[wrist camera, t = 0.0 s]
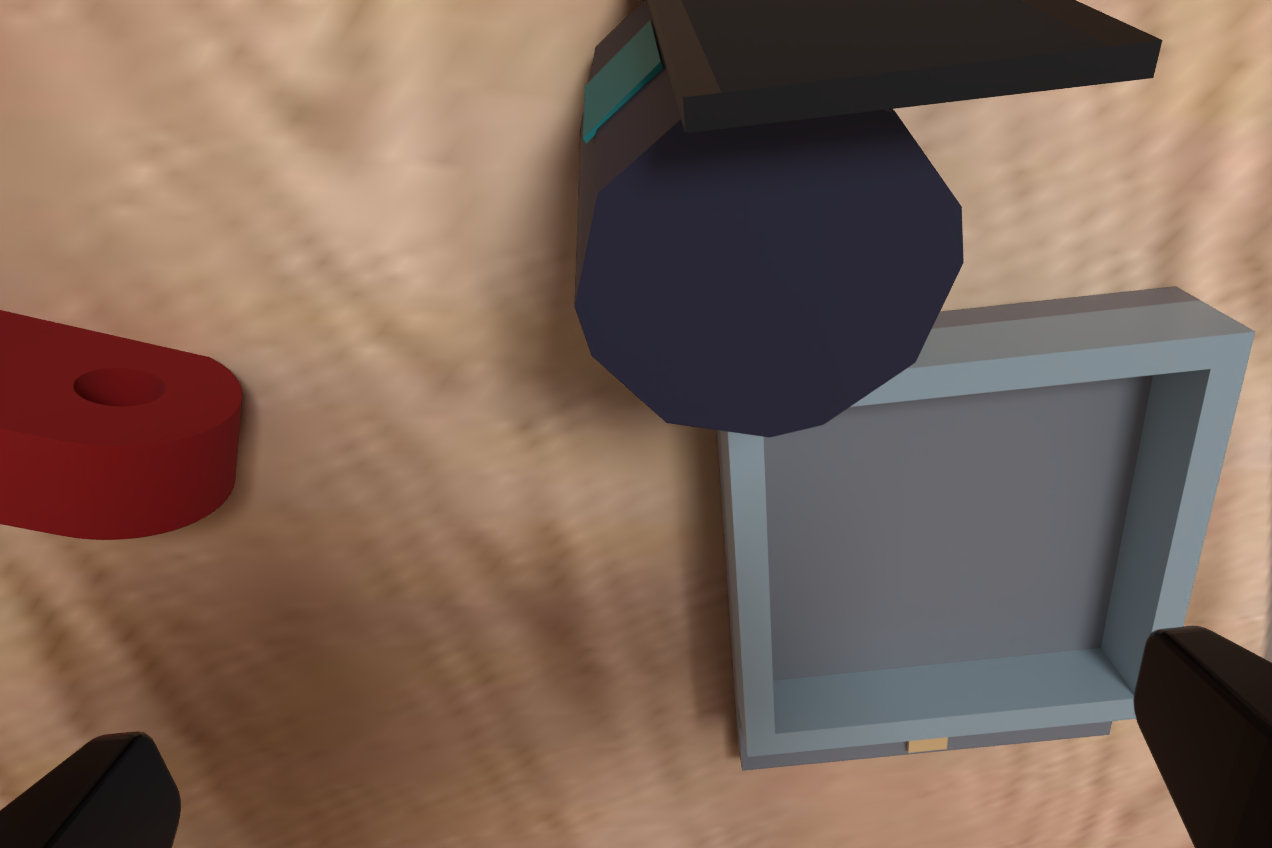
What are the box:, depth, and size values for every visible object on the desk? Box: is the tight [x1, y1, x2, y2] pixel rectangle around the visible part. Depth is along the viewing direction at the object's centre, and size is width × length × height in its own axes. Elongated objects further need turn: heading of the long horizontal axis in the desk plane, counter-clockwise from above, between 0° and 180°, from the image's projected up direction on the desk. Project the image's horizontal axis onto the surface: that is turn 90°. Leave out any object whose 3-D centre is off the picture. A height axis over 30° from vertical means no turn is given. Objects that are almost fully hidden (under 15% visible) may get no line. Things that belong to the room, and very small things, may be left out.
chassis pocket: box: [717, 286, 1255, 771], centre depth 24 cm, size 14×12×3 cm
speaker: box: [575, 0, 1162, 438], centre depth 15 cm, size 8×6×10 cm
